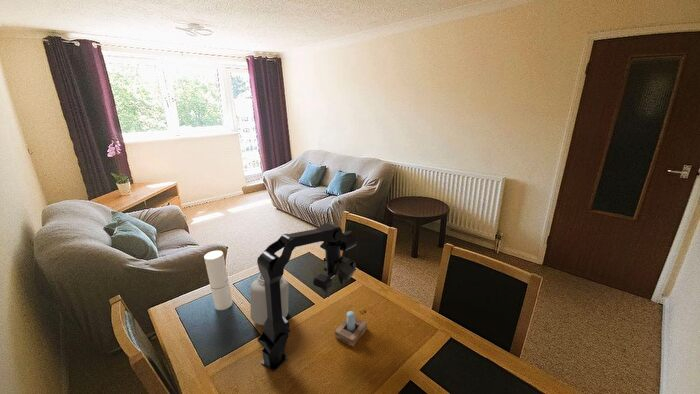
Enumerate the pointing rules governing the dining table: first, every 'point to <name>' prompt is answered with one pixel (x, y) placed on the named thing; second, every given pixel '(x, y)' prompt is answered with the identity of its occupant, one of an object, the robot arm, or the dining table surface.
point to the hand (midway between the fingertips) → (335, 290)
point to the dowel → (351, 321)
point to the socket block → (348, 336)
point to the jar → (259, 300)
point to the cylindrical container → (218, 279)
